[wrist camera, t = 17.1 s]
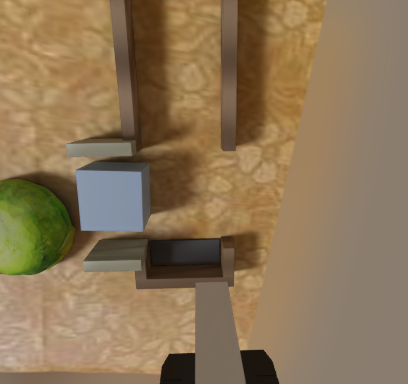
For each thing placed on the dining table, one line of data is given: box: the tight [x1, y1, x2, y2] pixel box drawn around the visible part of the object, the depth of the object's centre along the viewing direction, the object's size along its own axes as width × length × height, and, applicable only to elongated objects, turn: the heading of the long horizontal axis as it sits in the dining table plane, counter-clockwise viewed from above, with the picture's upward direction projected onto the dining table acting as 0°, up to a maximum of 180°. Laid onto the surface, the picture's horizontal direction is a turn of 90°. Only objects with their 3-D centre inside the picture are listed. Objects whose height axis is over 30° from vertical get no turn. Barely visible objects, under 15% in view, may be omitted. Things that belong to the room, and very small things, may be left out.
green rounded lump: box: [0, 179, 76, 275], centre depth 31 cm, size 12×11×5 cm
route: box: [66, 0, 238, 289], centre depth 28 cm, size 32×15×5 cm, turn 1°
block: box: [76, 161, 151, 232], centre depth 30 cm, size 6×6×5 cm
